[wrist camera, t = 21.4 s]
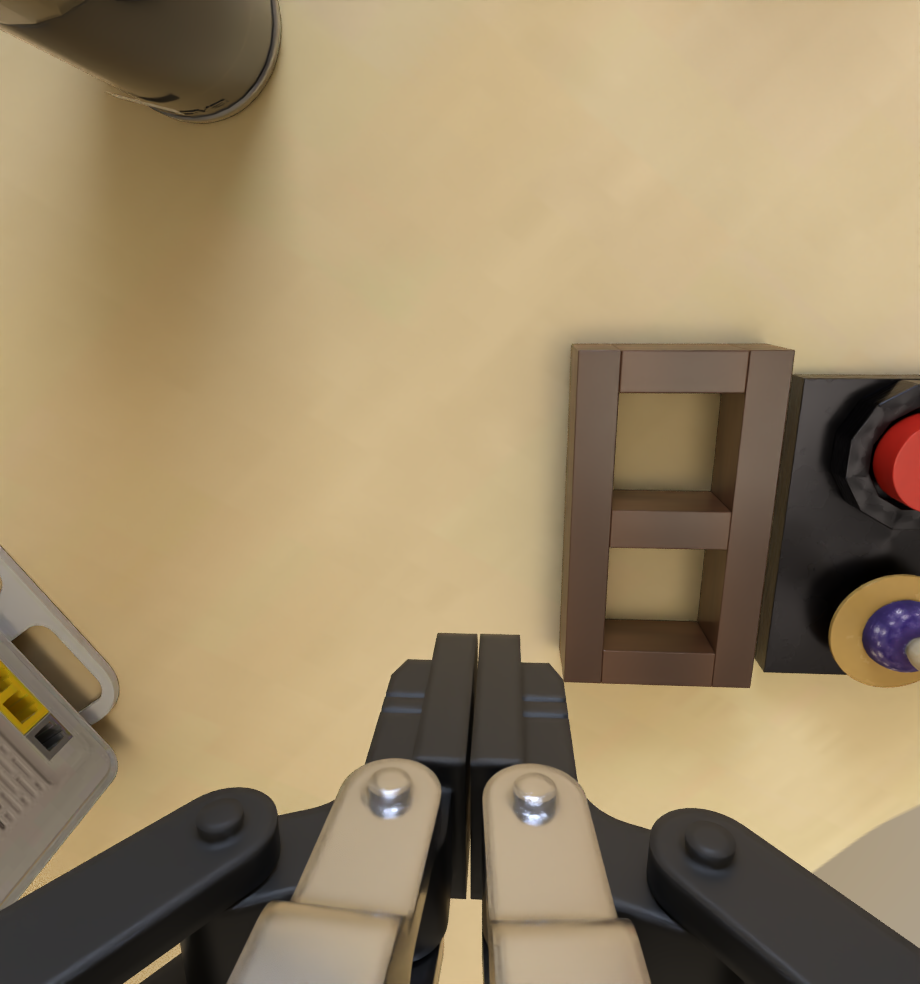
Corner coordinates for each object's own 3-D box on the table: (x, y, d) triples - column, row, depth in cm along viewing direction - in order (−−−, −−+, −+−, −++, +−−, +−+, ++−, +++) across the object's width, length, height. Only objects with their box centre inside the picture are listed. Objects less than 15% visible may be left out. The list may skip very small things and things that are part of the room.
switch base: (792, 374, 38) (819, 382, 35) (1016, 375, 38) (1065, 383, 34) (754, 658, 44) (774, 688, 40) (950, 663, 43) (987, 695, 40)
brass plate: (838, 572, 38) (840, 574, 38) (970, 575, 38) (973, 577, 37) (819, 682, 40) (822, 685, 40) (944, 686, 40) (947, 689, 39)
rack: (559, 648, 44) (563, 682, 41) (571, 343, 39) (578, 350, 35) (729, 653, 44) (750, 688, 40) (766, 343, 38) (795, 350, 34)
